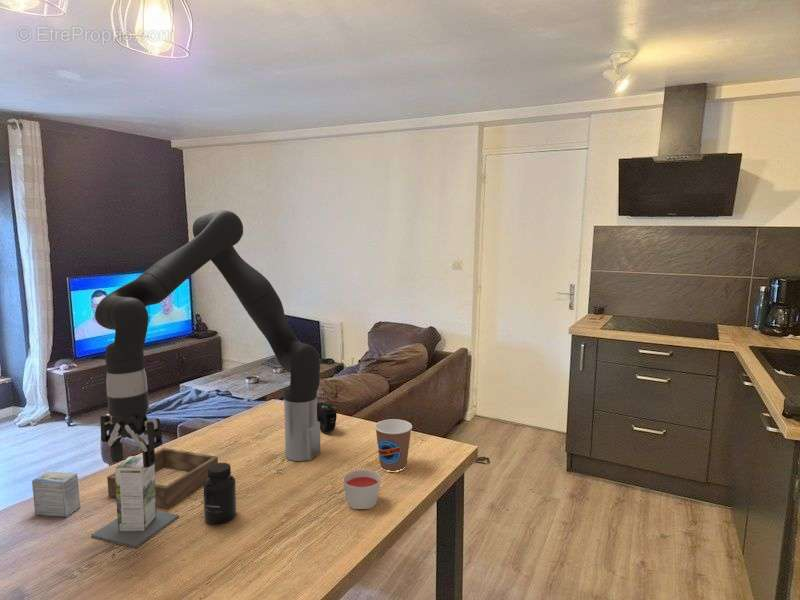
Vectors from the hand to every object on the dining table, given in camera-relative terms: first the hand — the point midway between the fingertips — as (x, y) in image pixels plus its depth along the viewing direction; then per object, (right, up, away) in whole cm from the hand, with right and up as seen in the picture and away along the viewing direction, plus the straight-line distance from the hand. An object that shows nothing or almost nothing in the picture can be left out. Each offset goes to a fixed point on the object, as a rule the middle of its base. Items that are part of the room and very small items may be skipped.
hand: (133, 463), depth 107 cm
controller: (+33, -8, +57) cm, 66 cm away
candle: (+48, -14, +12) cm, 52 cm away
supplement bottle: (+17, -14, +6) cm, 23 cm away
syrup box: (0, -14, +2) cm, 14 cm away
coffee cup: (+56, -11, +31) cm, 65 cm away
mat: (0, -14, +2) cm, 15 cm away
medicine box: (-21, -14, +8) cm, 27 cm away
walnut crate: (-3, -12, +20) cm, 24 cm away
